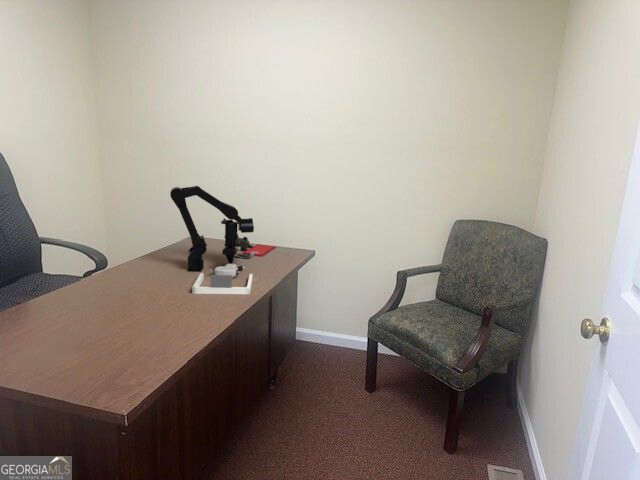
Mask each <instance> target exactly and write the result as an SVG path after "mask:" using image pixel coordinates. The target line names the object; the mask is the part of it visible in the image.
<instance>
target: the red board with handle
mask: <svg viewBox="0 0 640 480" xmlns="http://www.w3.org/2000/svg"><path fill="white" fill-rule="evenodd" d="M276 248H277V246H274V245H266V244H265V245H264V244H257V245H252V244H250V243H249V245H248V248H247V249H244V248H242V247H240V252H242V253H237V254H236V255H234V258H235V257H236V258H237V257H238V258H243V259H250V258H252V257H259V258H263V257H264V256H266V255H267V254H269V253H270V252H272V251H274V250H275V249H276Z"/></svg>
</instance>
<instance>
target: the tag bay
mask: <svg viewBox="0 0 640 480" xmlns="http://www.w3.org/2000/svg"><path fill="white" fill-rule="evenodd" d="M204 277H205V274H204V272H200V273H199V275H198V277H197V278H196V280H195V282H194V283H193V285H192V287H191V294H193V295H194V294H196V295H197V294H200V295H203V294H204V295H206V294H208V295H218V294H219V295H250V294H251V289H252V284H253V279H254V278H253V273H249V276H248V281H247V285H246V286H244V287H243V286H232V285H233V284H232V280H233V278H232V275H215V274H211V275H210V286H201V285H202V282H203V281H204Z"/></svg>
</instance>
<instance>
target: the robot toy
mask: <svg viewBox="0 0 640 480" xmlns="http://www.w3.org/2000/svg"><path fill="white" fill-rule="evenodd" d="M244 269H245V266H242V265H239V266H238V265H237V264H236V263H233V264H229V263H227V264H226V265H225V264H221V266H216V267H215V268H213V269H210V271H212V272H213V275H232V279H233V278H235V277H236V276H238V275H239V274H241V271H243V270H244Z"/></svg>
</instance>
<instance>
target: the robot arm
mask: <svg viewBox="0 0 640 480" xmlns="http://www.w3.org/2000/svg"><path fill="white" fill-rule="evenodd" d="M169 194H170V198H171V200H172V202H173V203H174V204H175V206H176V207H177V208H178V210H179V212H180V213H179V214H180V216H181V218H182V220H183V222H184V225H185V227H186V230H187V231H188V233H189V237H190V240H191V243H192V244H191V245H192V246H191V247H190V248H189V249H188V256H187V269H186V271H187V272H202V271H203V269H204V268H205V260H204V256H203V255H204V254H205V253H206V252H207V251H208V250H207V247H208V244H207V242H206V241H205V237H204V234H203V235H200V234H199V232H198V230H197V228H196V226H195V222H194V221H193V219H192V216H191V213H190V211H189V209H188V206H187V201H186V198H191V197H198V198H200V199H201V200H204V201H205V202H206V203H208V204H209V205H211V206H212V207H214V208H216V209H217V210H218V211H219V212H221V214H222V215H223V216H225V217H226V218H227V219H226V218H224V217H223V219H222V220H221V221H220V223H221V225H224V240H225V241H224V247H223V248H222V250H221V251H222V253H221V254H222V256H225V258H226V259H227V261H228V264H234V260H235V255H237V254H238V250H239V249H238V248H239V247H240V248H241V247H242V248H244V249H247V250H248V249H249V248H248V245H249V244H250V240H249V239H248V237H247V236H243V237H239V234H238V231H239V232H240V233H242V234H243V233H245V234H247V233H254V230H255V226H254V219H253V218H252V217H250V218H241V216H239V211H238V209H237V208H236V207H235V206H234V205H231V204H229V203H225V202H223V201H221V200H220V199H218V198H217V197H215V196H213V195H212V194H210V193H209V192H207V191H205V189H202V188H201V187H200V186H199V185H194V186H187V187H180V186H175V187H173V188H171V190H170V193H169Z"/></svg>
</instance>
